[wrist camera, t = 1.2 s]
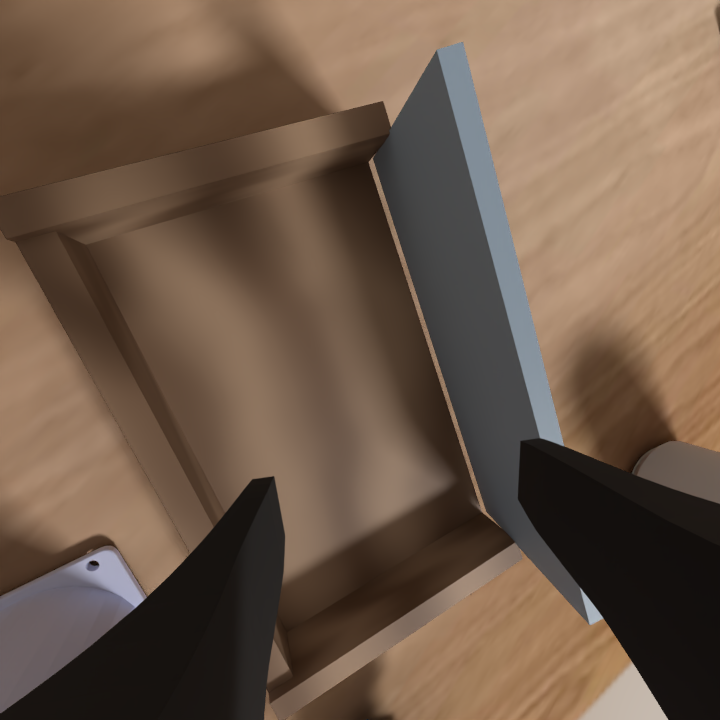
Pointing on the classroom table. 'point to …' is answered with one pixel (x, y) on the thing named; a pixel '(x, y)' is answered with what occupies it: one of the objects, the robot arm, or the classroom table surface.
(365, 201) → the tray
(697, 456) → the can
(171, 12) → the classroom table surface
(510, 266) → the panel
